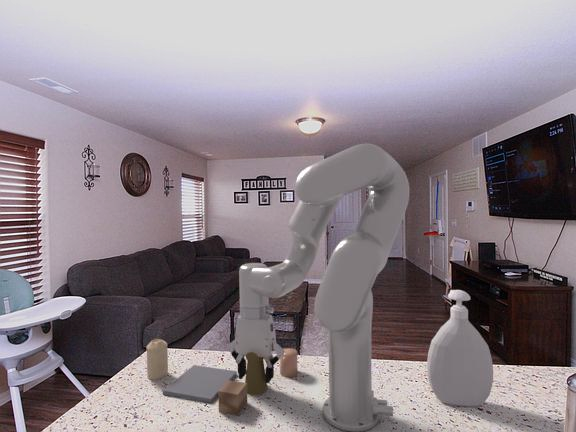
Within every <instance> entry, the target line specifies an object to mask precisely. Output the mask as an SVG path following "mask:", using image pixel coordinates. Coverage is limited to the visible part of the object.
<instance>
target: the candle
mask: <svg viewBox="0 0 576 432" xmlns="http://www.w3.org/2000/svg"><path fill="white" fill-rule="evenodd" d="M168 354H169V353H168V343H167V342H166V341H165V340H163V339H160V338H154V339H151V341H150V342H149V343H148V344H147V345H146V368H147V369H146V370H147V371H146V375H147V378H148V379H149V380H159V379H162V378H165V377H166V376H167V375H168V374H169V364H168V363H169V362H168V361H169V360H168V359H169V357H168Z"/></svg>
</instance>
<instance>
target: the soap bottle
mask: <svg viewBox="0 0 576 432" xmlns="http://www.w3.org/2000/svg"><path fill="white" fill-rule="evenodd" d="M447 296H448V299H450V300H454V301H456V304H453V305H452V306H451V307H450V316H449V317H450V318H449V319H448V320H447V321H446V322H445V323H444V324H443V325H441V327H439V330H438V331H437V332H436V334H435V335H434V336H433V338H432V339H431V341H430V345H429V349H428V353H427V361H426V368H427V369H426V371H427V372H426V375H427V379H428V383H429V387H430V389H431V391H432V392H433V394H434V395H435V397H436V399H438V400H439V402H441V403H443V404H446V405H451V406H457V407H467V408H468V407H472V408H475V407H480V406H482V405H484V404H485V402H486V401H487V399H488V398H489V397H490V394H491V391H492V388H493V383H494V367H493V359H492V355H491V351H490V348H489V345H488V344H487V342H486V341H485V339H484V337H482V335H481V334H480V332H479V331H478V329H476V328H475V326H474V325H473V324H472V323H471V321H469V310H468V308H467V307H466V306H465V305H463V302H464V301H465V302H467V301H470V300H471V296H470V294H469V293H467V292H466V291H465V290H461V289H450V291H449V292H448V295H447Z"/></svg>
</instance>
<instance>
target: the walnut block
mask: <svg viewBox="0 0 576 432" xmlns="http://www.w3.org/2000/svg"><path fill="white" fill-rule="evenodd" d="M217 397H218V413H223V414H228V415H234V416H240V414H241V412H242V411H243V410H244V408H245V407H246V406H247V404H248V393H247V383H245V382H243V381H236V380H232V381H231V380H228V381H227V382H226V383H225V384H224V386H223V387H222V388H221V389H220V390H219V391H218V396H217Z"/></svg>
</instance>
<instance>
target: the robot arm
mask: <svg viewBox="0 0 576 432" xmlns="http://www.w3.org/2000/svg"><path fill="white" fill-rule="evenodd" d="M365 188H366V189H368V198H367V200H366V201H365V204H364V206H363V208H362V211H361V213H360V216H359V219H358V221H357V223H356V226H355V228H354V230H353V233H352V234H351V235H348V236H346V237H344V238H343V239H342V240H340V242H338V243H337V245H336V246H335V248H334V250H333V251H332V254H331V255H330V259H329V261H328V263H327V266H326V268H325V270H324V271H325V272H324V274H323V276H322V279H321V281H320V284H319V287H318V290H317V292H316V295H315V299H314V314H315V316H316V318H317V321H318V322H319V324H321V326H322V327H323V328H324V329H326V330H327V331H328V391H329V392H328V393H329V394H328V395H329V397H328V398H326V399H325V400H324V402H323V404H322V415H323V417H324V419H325V420H326V421H327V422H328V424H330V425H331V426H332V427H335V428H336V429H339V430H342V431H347V432H365V431H368V430H370V429H372V428H374V427H375V426H376V425H377V424H378V422H379V419H380V415H384V416H386V417H394V407H393V405H388V400H387V399H380V398H377V397H375V391H374V390H372V389H373V388H372V383H373V382H372V380H373V377H372V324H373V323H372V322H373V308H374V296H373V292H372V288H373V285H374V284H375V281H376V278H377V277H378V275H379V273H381V272H382V271H383V269H384V268H385V266H386V264H387V262H388V260H389V259H388V258H389V256H390V252H391V250H392V247H393V246H394V242H395V240H396V238H397V236H398V232H399V229H400V227H401V225H402V222H403V219H404V217H405V214H406V211H407V208H408V204H409V200H410V183H409V179H408V177H407V174H406V172H405V171H404V169H403V167H402V166H401V165H400V164H399V162H397V161H396V159H395V158H394V157H393V156H392V155H391V154H390V153H388V152H387V151H385V150H384V149H383V148H382V147H380V146H378V145H376V144H373V143H359V144H356V145H352V146H350V147H348V148H346V149H344V150H342V151H339V152H337V153H335V154H333V155H330V156H328V157H326V158H324V159H322V160H319V161H317V162H314V163H312V164H310V165H308V166H307V167H306V168H305V167H304V169H303V170H302V171H301V172H300V173H299V174H298V176H297V178H296V180H295V183H294V189H295V194H296V196H297V198H298V199H299V202H298V203H297V205H296V207H295V210H294V211H293V213H292V215H291V218H290V219H289V221H288V229H289V231H290V232H291V234H292V242H291V245H290V248H289V251H288V253H287V254H286V257H285V259H284V261H283V262H281V263H279V264H275V265H273V266H269V267H268V266H267V265H266V264H265V263H262V262H250V263H249V262H248V263H244V264H242V265H240V267H239V268H238V269H239V270H238V275H239V277H238V280H239V281H238V282H239V287H238V288H239V315H238V316H237V320H236V325H235V336H234V338H235V339H233V340H232V341H231V342H229V344H227V345H226V349H227V350H228V352H229V353H230V354H231V357H233V359H234V360H235V363H236V364H237V375H238V380H242V379H243V378H244V377H246V370H247V359H246V356H245V355H247V353H249V352H253V353H255V354H257V356H258V357H263V358H264V359H263V361H264V363H266V367H265V375H266V383H267V384H269V383H270V382H271V381H272V379H273V378H274V376H275V375H274V374H275V373H274V372H275V370H274V369H275V368H274V366H275V364H276V363H278V362H279V361H280V358H281V357H282V356H283V355H284V353H285V351H284V350H283V349H284V348H282V347H281V346H280V344H278V343H277V340H276V338H277V337H276V329H275V322H274V318H273V315H272V314H274V312H275V309H274V307H270V303H269V301H270V300H269V299H270V298H271V299H278V298H281V297H283V296H285V295H287V294H288V293H291V292H292V291H293V290H296V289H297V288H299V287H300V286H301V285H302V284H303V283H304V280H305V279H306V277H307V276H308V274H309V272H310V271H311V268H312V266H313V265H314V262H315V260H316V258H317V254H318V251H319V246H320V241H321V238H322V236H323V234H324V233H325V231H326V229H327V227H328V225H329V223H330V221H331V219H332V218H333V215H334V213H335V212H336V210H337V207H338V206H339V204H340V202H341V200H342V198H343V196H346V195H349V194H352V193H354V192H357V191H361V190H363V189H365ZM272 352H276V355H275V356H274V354H273V353H272Z"/></svg>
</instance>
